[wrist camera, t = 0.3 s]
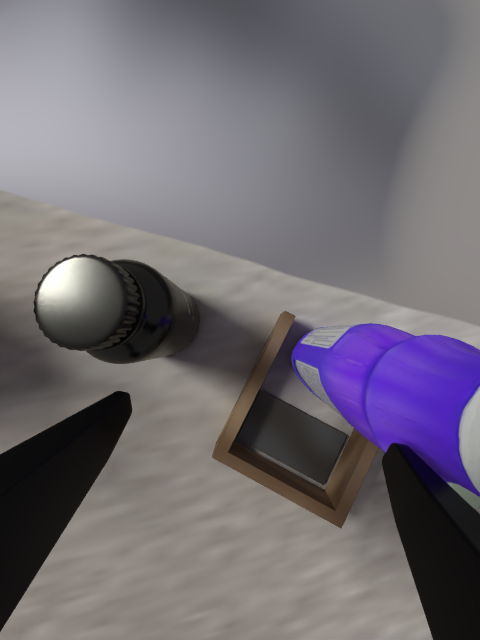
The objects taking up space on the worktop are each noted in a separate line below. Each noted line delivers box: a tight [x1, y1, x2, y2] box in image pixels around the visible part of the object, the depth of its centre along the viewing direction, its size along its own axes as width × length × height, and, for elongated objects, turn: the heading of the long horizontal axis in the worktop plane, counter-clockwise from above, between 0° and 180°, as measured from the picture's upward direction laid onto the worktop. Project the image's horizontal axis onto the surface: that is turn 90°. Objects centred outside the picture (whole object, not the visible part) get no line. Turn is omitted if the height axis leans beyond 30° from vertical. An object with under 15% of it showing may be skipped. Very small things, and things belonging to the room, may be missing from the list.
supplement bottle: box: [34, 254, 200, 364], centre depth 17 cm, size 7×7×12 cm
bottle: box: [291, 323, 480, 497], centre depth 14 cm, size 7×6×17 cm
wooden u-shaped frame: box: [212, 311, 379, 528], centre depth 21 cm, size 14×12×2 cm
